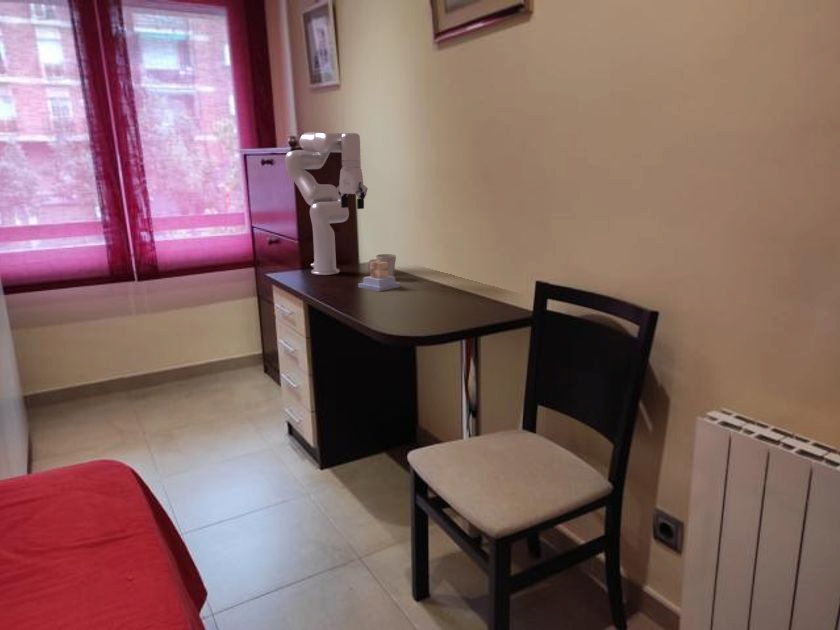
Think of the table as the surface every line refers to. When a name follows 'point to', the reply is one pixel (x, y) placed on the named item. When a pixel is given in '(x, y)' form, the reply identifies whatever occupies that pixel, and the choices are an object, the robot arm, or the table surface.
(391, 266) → the mug
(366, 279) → the plinth
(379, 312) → the table surface
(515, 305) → the table surface
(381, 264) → the beech block
